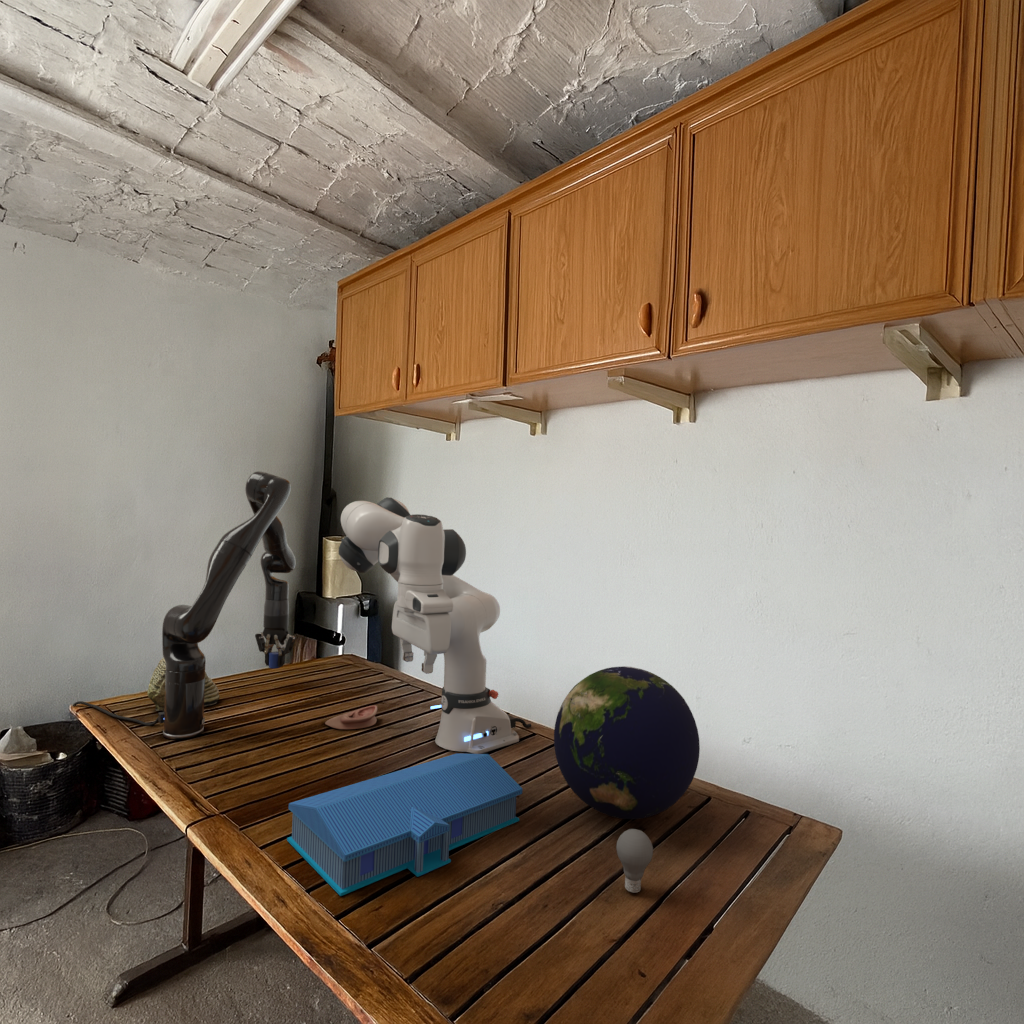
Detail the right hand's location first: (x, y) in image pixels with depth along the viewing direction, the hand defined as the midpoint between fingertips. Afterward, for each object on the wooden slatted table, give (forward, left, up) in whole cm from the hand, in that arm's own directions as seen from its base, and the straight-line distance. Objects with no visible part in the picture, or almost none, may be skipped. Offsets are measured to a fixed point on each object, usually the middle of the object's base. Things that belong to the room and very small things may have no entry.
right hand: (417, 666), depth 126 cm
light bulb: (-23, +39, -31) cm, 55 cm away
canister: (+6, -97, -23) cm, 100 cm away
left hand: (+6, -97, -23) cm, 100 cm away
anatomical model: (-6, -57, -31) cm, 65 cm away
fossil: (+33, -90, -31) cm, 101 cm away
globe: (-40, +17, -31) cm, 53 cm away
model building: (+2, +5, -31) cm, 31 cm away
